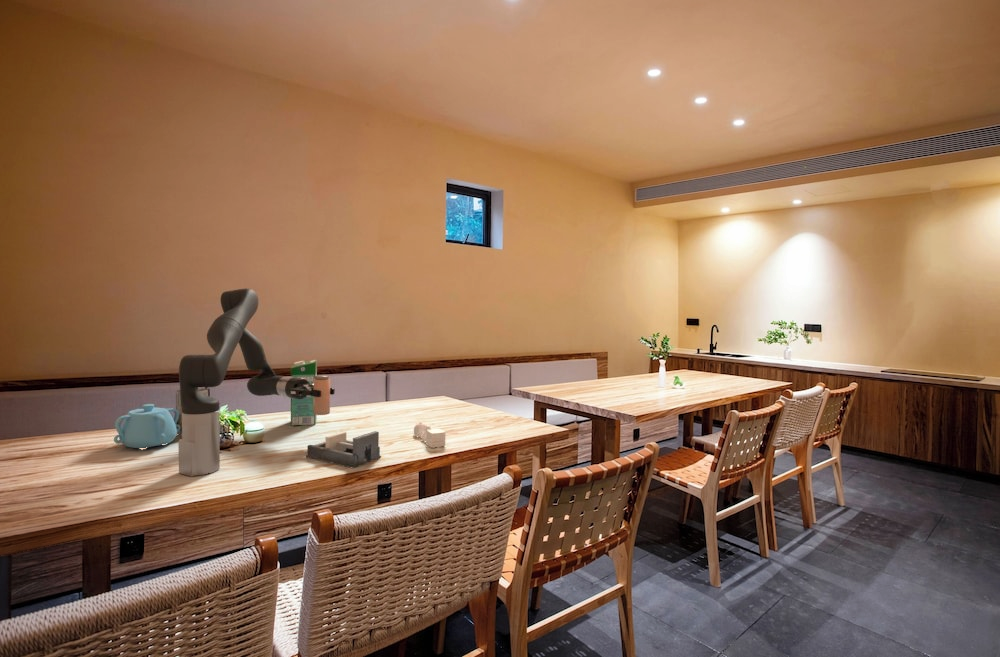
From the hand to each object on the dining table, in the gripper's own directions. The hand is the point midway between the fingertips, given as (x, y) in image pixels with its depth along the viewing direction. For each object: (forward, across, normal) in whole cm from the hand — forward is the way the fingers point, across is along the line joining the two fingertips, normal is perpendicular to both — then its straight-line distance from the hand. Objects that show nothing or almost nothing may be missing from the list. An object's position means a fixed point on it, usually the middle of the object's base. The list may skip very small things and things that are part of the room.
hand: (327, 392), depth 172 cm
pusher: (+18, -8, +17) cm, 26 cm away
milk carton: (-29, +16, +18) cm, 38 cm away
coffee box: (-49, -16, +18) cm, 55 cm away
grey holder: (+16, -8, +18) cm, 25 cm away
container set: (+27, +22, +18) cm, 39 cm away
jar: (-3, 0, +8) cm, 8 cm away
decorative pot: (-47, -32, +18) cm, 60 cm away
